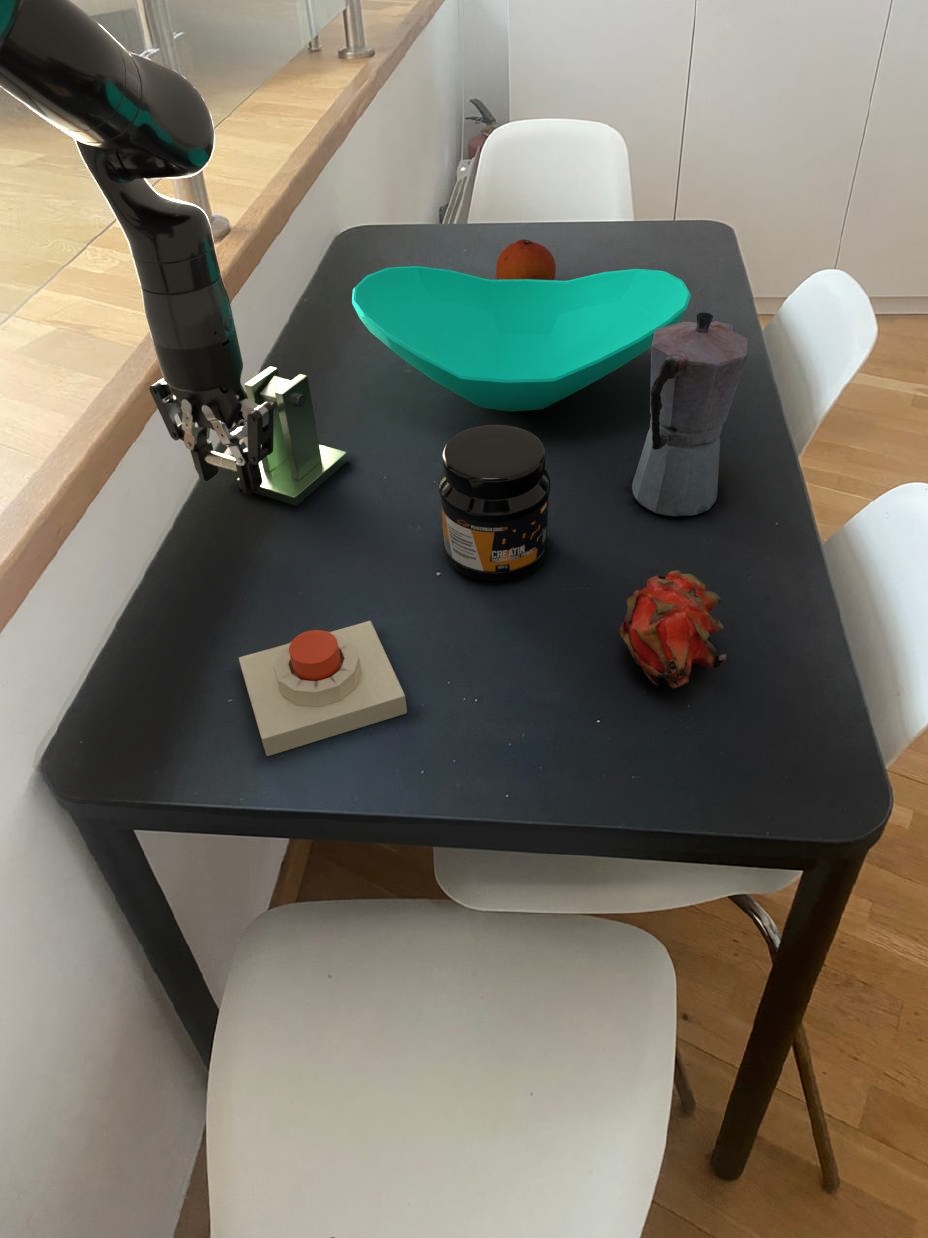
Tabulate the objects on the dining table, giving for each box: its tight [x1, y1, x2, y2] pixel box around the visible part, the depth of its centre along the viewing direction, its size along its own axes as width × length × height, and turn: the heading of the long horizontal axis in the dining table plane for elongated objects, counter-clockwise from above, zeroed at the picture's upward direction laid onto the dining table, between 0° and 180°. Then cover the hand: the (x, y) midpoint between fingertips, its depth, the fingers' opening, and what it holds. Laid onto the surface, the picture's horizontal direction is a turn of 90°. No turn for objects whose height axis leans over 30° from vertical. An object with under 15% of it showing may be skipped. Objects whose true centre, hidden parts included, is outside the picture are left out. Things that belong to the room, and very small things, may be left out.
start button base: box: [238, 620, 408, 757], centre depth 78 cm, size 12×10×4 cm
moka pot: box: [631, 311, 749, 517], centre depth 91 cm, size 10×15×20 cm, turn 148°
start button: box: [289, 629, 341, 681], centre depth 76 cm, size 4×4×2 cm
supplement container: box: [438, 424, 551, 582], centre depth 88 cm, size 10×10×12 cm
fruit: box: [495, 239, 557, 280], centre depth 136 cm, size 9×9×8 cm
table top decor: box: [351, 265, 692, 412], centre depth 112 cm, size 40×28×13 cm
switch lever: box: [203, 376, 292, 474], centre depth 96 cm, size 12×5×2 cm, turn 151°
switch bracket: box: [236, 366, 349, 507], centre depth 101 cm, size 10×8×12 cm
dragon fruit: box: [619, 569, 727, 689], centre depth 78 cm, size 8×8×12 cm
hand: (230, 482), depth 95 cm, fingers closed on switch lever, 5 cm apart
